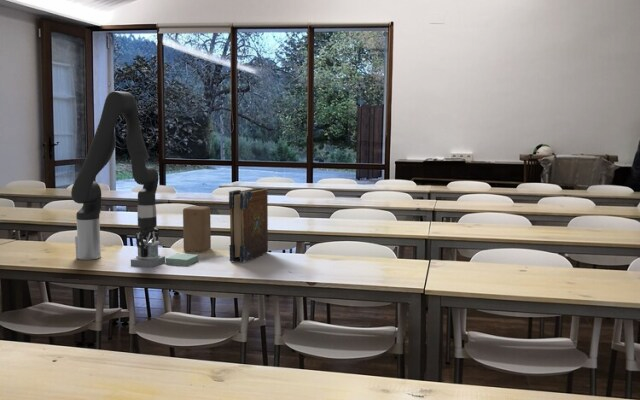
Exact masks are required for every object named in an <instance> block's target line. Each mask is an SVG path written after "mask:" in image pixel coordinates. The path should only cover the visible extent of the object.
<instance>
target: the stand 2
mask: <svg viewBox="0 0 640 400" xmlns="http://www.w3.org/2000/svg"><path fill="white" fill-rule="evenodd" d="M199 256H200V255H199V254H193V253H192V254H190V253H175V254H173V255H170V256H167V257H165V265H174V266H185V267H187V266H190V265H193V264H195V263H197V262H199V261H200V258H199Z"/></svg>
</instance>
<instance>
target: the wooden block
mask: <svg viewBox="0 0 640 400" xmlns="http://www.w3.org/2000/svg"><path fill="white" fill-rule="evenodd" d="M211 222H212V221H211V207H210V206H203V205H202V206H201V205H191V206H187V207H185V208H183V209H182V224H183V225H182V228H183V230H182V232H183V233H182V236H183V239H182V240H183V242H182V243H183V251H185V252H191V253H194V252H195V253H204V252H206V251H208V250H210V249H211V247H212V246H211V245H212V244H211V243H212V241H211V240H212V239H211V238H212V236H211V235H212V234H211V233H212V232H211V230H212V229H211V224H212V223H211Z"/></svg>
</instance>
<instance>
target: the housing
mask: <svg viewBox="0 0 640 400" xmlns="http://www.w3.org/2000/svg"><path fill="white" fill-rule="evenodd" d="M143 241H146V240H143ZM160 243H161V242H160V240H158V241H152V240H149V242H148V243H147V246H146V251H147V257H145V258H144V257H141V248H138V247H137V255H136V257H135V258H136V259H149V260H154V259H157V258H160V256H161V255H160V254H159V244H160ZM135 245H137V243H136V242H135ZM139 245H140V242H139Z"/></svg>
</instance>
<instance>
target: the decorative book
mask: <svg viewBox="0 0 640 400" xmlns="http://www.w3.org/2000/svg"><path fill="white" fill-rule="evenodd" d="M268 193H269V191H268V188H262V187H260V188H258V187H256V188H250V189H245V190H241V189H235V190H229V191H228V209H229V221H230V222H229V225H230V226H229V231H230V232H229V233H230V234H229V235H230V241H229V242H230V244H229V262H230V261H234V262H237V261H239V260H240V263H241V262H242V263H241V264H245V263H248V262H251V261H252V260H253V259H254V258H257V257H260V256H262V255H265V254H268V253H269V249H268V248H269V245H268V243H269V241H268V239H269V235H268V234H269V232H268V231H269V230H268V229H269V227H268V225H269V224H268V223H269V222H268V220H269V217H268V215H269V214H268V207H269V206H268V197H269V196H268ZM238 259H239V260H238ZM236 260H237V261H236ZM247 261H248V262H247Z"/></svg>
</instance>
